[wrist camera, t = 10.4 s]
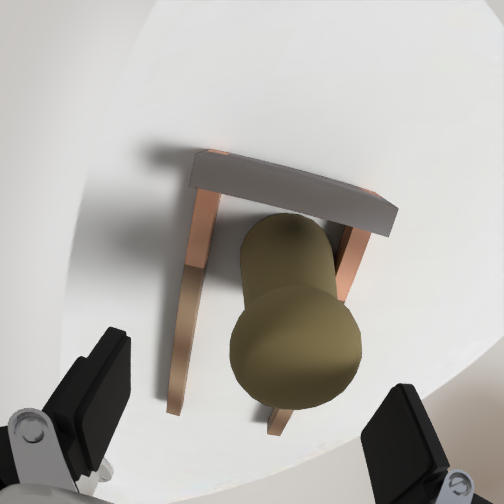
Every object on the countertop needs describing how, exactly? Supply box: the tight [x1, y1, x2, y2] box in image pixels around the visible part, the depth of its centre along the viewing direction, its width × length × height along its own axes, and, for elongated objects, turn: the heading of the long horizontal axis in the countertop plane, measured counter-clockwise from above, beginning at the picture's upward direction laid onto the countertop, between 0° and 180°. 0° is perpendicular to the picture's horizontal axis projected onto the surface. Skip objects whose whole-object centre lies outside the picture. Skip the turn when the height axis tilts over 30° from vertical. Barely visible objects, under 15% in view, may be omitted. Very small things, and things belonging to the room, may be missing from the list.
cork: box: [230, 213, 362, 410], centre depth 16 cm, size 6×6×11 cm
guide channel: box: [166, 149, 398, 436], centre depth 21 cm, size 22×10×4 cm, turn 167°
